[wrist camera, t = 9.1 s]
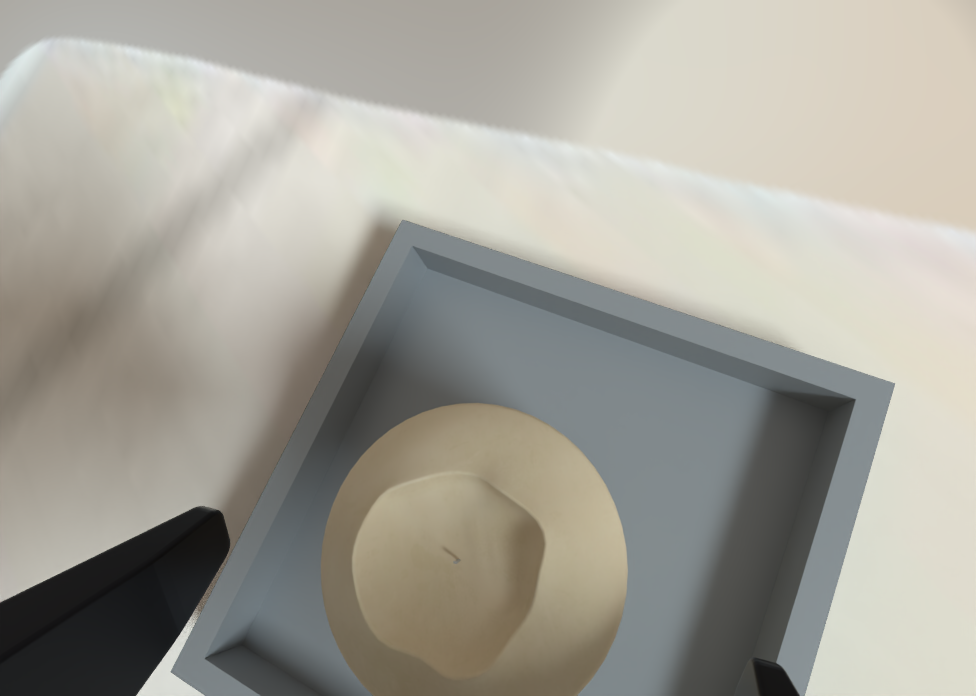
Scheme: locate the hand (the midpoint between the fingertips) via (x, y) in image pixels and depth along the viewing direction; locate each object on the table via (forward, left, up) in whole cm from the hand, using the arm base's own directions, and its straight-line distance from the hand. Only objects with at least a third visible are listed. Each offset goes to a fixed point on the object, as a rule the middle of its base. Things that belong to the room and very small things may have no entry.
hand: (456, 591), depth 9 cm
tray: (+1, 0, -10) cm, 10 cm away
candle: (+1, 0, -9) cm, 9 cm away
